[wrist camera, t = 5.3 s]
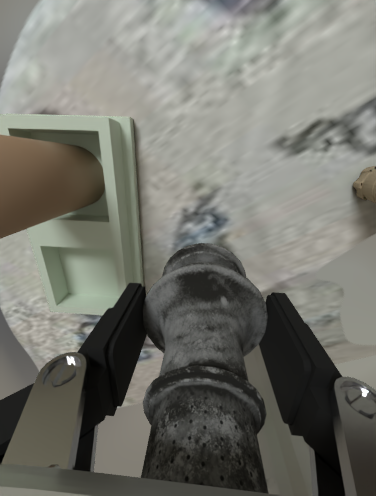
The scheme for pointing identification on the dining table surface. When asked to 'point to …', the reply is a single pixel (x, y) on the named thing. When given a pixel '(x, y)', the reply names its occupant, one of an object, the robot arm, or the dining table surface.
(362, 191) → the handle
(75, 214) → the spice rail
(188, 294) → the salt shaker
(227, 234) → the dining table surface
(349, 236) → the dining table surface
